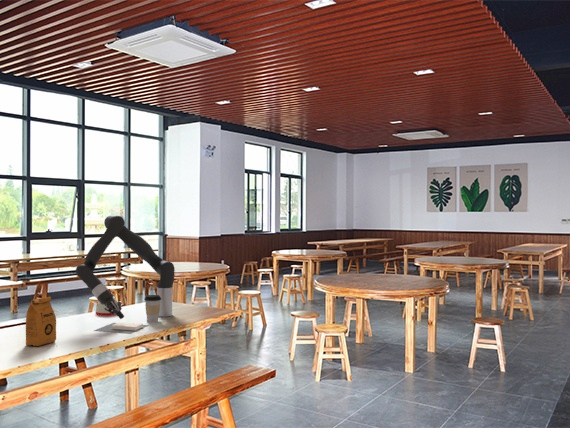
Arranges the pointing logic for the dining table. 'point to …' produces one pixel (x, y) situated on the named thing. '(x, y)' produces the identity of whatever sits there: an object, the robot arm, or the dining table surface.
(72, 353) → the dining table surface
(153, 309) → the coffee cup
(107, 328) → the mat
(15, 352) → the dining table surface
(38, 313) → the coffee package
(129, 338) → the dining table surface
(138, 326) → the tile
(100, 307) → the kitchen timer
